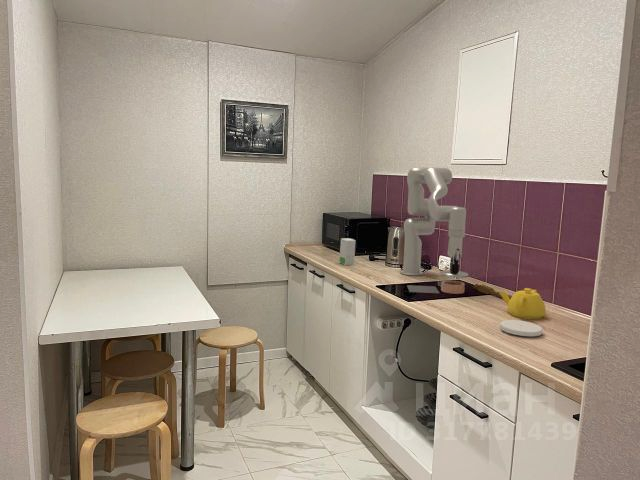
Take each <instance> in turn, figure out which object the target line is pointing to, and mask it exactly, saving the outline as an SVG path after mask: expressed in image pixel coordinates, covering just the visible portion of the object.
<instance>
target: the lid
mask: <svg viewBox="0 0 640 480" xmlns="http://www.w3.org/2000/svg"><path fill="white" fill-rule="evenodd" d="M452 264H453V263H451V267H450V266H449V270H448V269H447V270H440V271H439V274H440V275H441V276H444V277H450V278H467V277H469V273H467V272H466V271H460V270H459V272H458V273H452Z"/></svg>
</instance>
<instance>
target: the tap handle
mask: <svg viewBox="0 0 640 480" xmlns="http://www.w3.org/2000/svg"><path fill="white" fill-rule="evenodd" d="M473 289H474V290H477V292H480V293H483V294H485V293H486V295H489V294H491V296H495V297H496V298H499V299H502V300H504V299H503V298H502V296H501V295H500V294H499V293H500V291H496V290H495V289H494V288H493V287H490V286H487V285H485V284H478V283H475V284H473ZM507 295H508V297H509V299H511V298H512V296H513V295H510V294H507Z"/></svg>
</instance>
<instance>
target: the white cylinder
mask: <svg viewBox="0 0 640 480" xmlns="http://www.w3.org/2000/svg"><path fill="white" fill-rule="evenodd" d="M356 241H357V240H355V239H354V238H349V237H347V238H344V237H343V238H340V245H339V246H340V247H339V260H338V261H339V262H340V263H339V264H341V263H342V264H341V265H343V264H344V265H343V266H354V265H355V254H356V244H357V243H356ZM353 264H354V265H353Z"/></svg>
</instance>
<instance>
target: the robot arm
mask: <svg viewBox="0 0 640 480" xmlns="http://www.w3.org/2000/svg"><path fill="white" fill-rule="evenodd" d="M406 180H407V181H406V182H407V187H408V195H407V196H408V197H407V198H408V199H407V212H408V214H409V215H411V216H417V217H410V218H407V219H406V220H405V221H404V222H403V232H404V233H403V234H404V248H403V249H404V251H403V265H402V268H403V269H401V270H400V271H399V273H400V274H401V275H405V276H411V277H412V276H415V277H416V276H422V275H424V272H423V271H422V270H421V266H422V265H421V264H422V247H423V246H422V245H423V243H422V240H421V238H420V236H430V235H432V234H434V232H435V229H436V222H448V233H447V234H448V235H447V236H448V237H449V238H448V244H447V245H448V246H447V255H448V256H449V257H450V262H449V268H450V267H451V263H453V264H452V273H458V272H459V271H460V270H459V269H460V259H461V258H462V255H463V238H465V237H466V221H467V219H466V218H467V209H466V208H465V207H463V206H462V207H461V206H460V207H459V206H458V205H439V204H438V202H437V201H438V200H440V199H443V198H444V197H445V196H446V195H447V194H448V192H449V189H448V186H447V185H449V184H451V183H452V180H453V174H452V171H451V170H450V169H449V168H447V167H424V166H423V167H418V166H417V167H412V168H410V169H409V170H408V173H407V176H406ZM422 184H426V186H427V187H428V190H429V192H430V195H429V198H425V189H424V187H423V185H422ZM418 216H422V217H418ZM423 216H424V217H423Z"/></svg>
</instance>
